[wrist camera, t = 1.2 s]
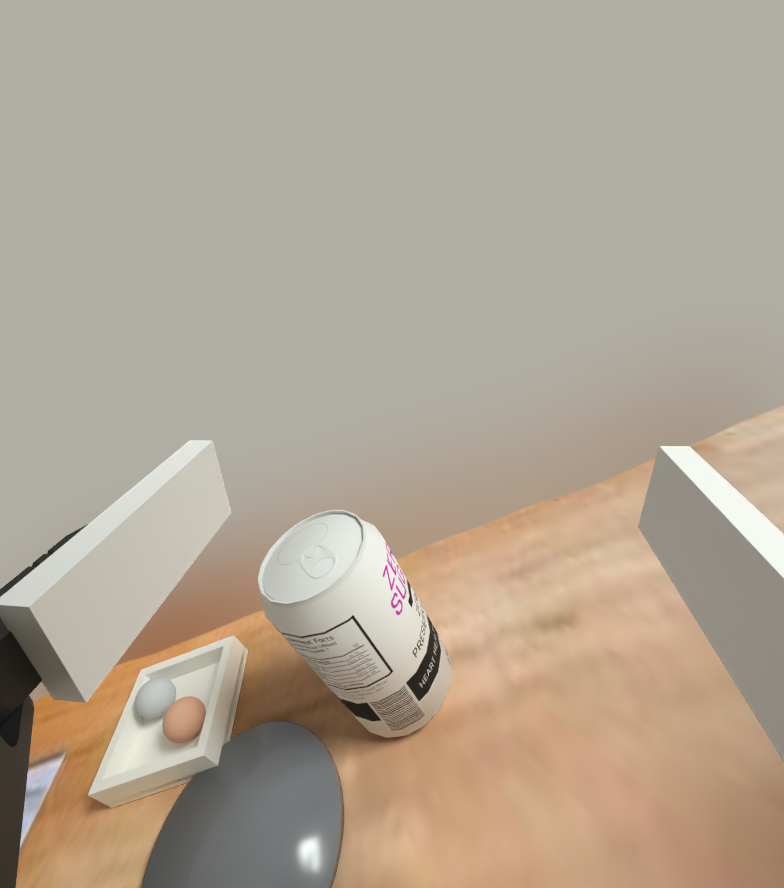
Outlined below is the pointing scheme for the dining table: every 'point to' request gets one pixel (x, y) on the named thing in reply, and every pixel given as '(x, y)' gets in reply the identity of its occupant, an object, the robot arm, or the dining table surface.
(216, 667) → the ball dish
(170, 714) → the ball terracotta
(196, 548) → the robot arm
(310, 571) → the supplement can
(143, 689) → the ball grey
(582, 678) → the dining table surface
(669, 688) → the dining table surface
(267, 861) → the slate coaster
